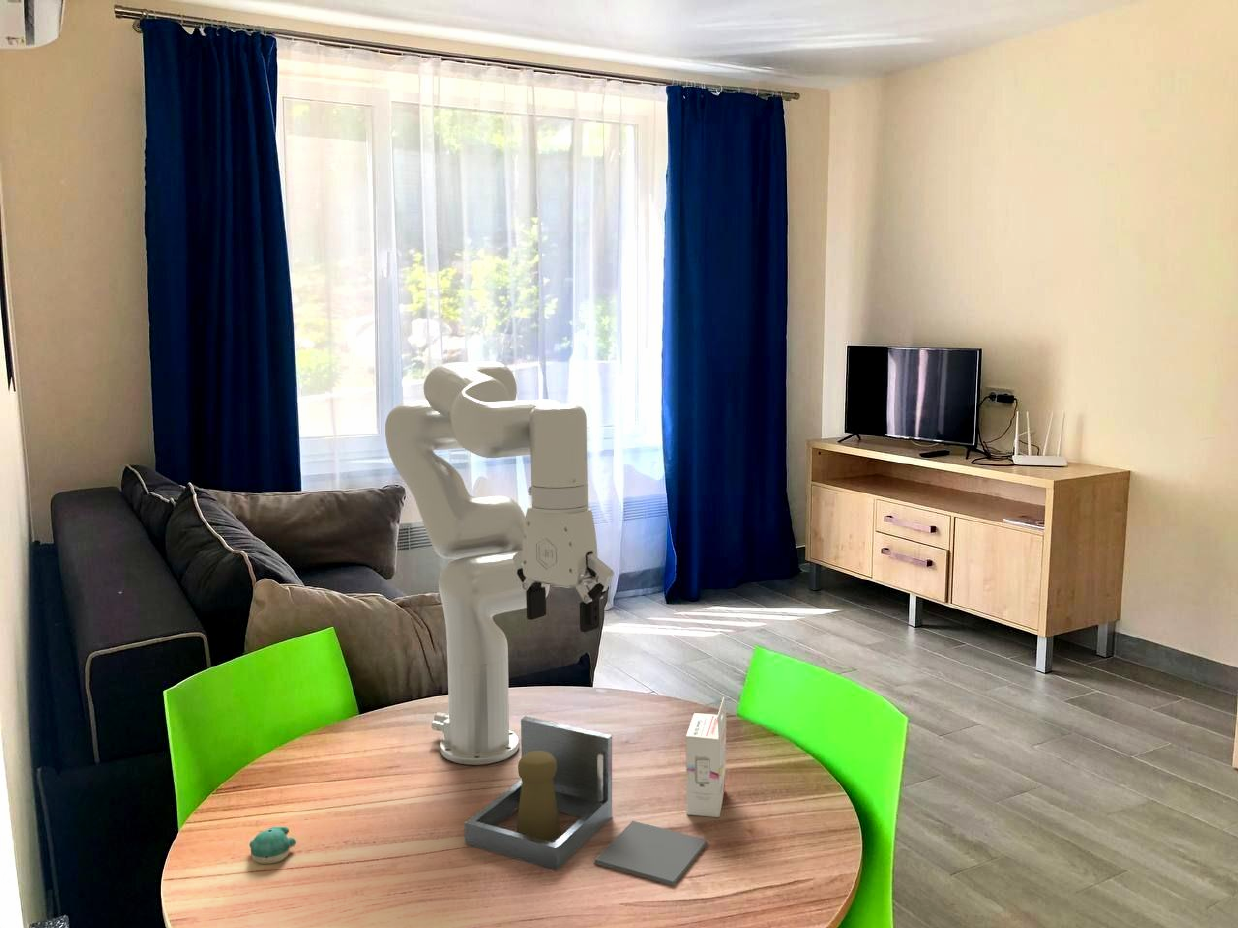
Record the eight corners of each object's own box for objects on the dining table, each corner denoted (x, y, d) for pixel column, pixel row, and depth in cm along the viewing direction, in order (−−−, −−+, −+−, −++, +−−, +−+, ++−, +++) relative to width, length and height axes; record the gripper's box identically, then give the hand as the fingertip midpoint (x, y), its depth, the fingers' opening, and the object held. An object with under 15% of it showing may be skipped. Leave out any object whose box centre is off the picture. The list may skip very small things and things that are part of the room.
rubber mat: (594, 863, 128) (594, 859, 128) (632, 824, 137) (632, 820, 137) (673, 885, 123) (673, 881, 123) (707, 843, 133) (707, 839, 132)
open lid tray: (465, 843, 132) (463, 757, 131) (526, 794, 146) (525, 716, 144) (556, 870, 126) (555, 780, 124) (612, 816, 140) (612, 734, 138)
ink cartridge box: (692, 786, 148) (693, 691, 146) (725, 789, 147) (727, 694, 145) (684, 815, 140) (685, 714, 138) (719, 818, 139) (721, 717, 137)
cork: (567, 824, 137) (566, 749, 136) (550, 846, 132) (549, 768, 130) (527, 817, 139) (525, 742, 138) (508, 839, 134) (506, 761, 132)
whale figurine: (242, 868, 127) (240, 840, 126) (257, 838, 134) (256, 812, 134) (289, 866, 127) (288, 838, 127) (302, 836, 135) (301, 810, 134)
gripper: (493, 495, 135) (497, 619, 138) (590, 508, 124) (592, 642, 127) (532, 488, 141) (535, 607, 143) (628, 500, 130) (630, 628, 132)
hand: (562, 623), depth 135 cm, fingers open, 9 cm apart
